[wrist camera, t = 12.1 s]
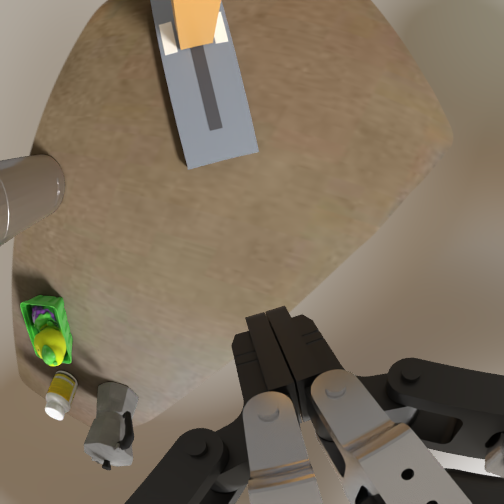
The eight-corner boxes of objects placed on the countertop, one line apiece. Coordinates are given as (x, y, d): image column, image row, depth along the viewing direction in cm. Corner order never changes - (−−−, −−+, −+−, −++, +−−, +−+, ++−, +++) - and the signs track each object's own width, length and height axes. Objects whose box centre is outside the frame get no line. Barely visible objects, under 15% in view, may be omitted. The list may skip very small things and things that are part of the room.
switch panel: (255, 151, 35) (259, 151, 34) (188, 168, 35) (188, 169, 33) (215, -11, 25) (216, -18, 23) (151, 3, 24) (149, -4, 22)
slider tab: (212, 43, 27) (223, -12, 14) (180, 50, 27) (172, -2, 14) (205, 12, 25) (212, -48, 12) (174, 19, 25) (165, -40, 12)
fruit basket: (31, 286, 36) (0, 324, 25) (73, 291, 37) (46, 333, 27) (46, 340, 39) (25, 381, 29) (86, 346, 41) (69, 392, 31)
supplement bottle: (52, 367, 42) (37, 402, 33) (74, 371, 43) (61, 408, 34) (59, 385, 44) (47, 418, 35) (81, 389, 45) (70, 424, 36)
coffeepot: (122, 417, 49) (115, 484, 33) (86, 396, 46) (69, 465, 29) (159, 387, 47) (156, 467, 31) (118, 363, 44) (101, 444, 27)
